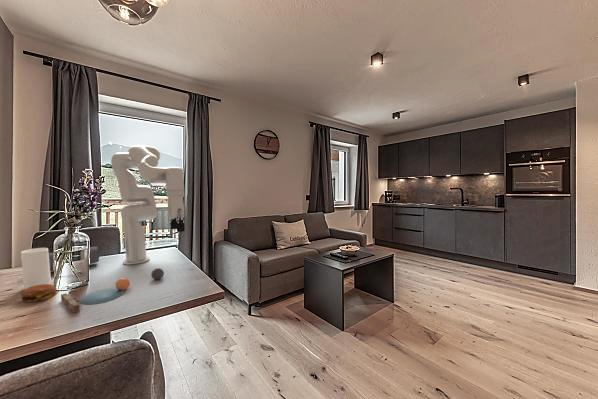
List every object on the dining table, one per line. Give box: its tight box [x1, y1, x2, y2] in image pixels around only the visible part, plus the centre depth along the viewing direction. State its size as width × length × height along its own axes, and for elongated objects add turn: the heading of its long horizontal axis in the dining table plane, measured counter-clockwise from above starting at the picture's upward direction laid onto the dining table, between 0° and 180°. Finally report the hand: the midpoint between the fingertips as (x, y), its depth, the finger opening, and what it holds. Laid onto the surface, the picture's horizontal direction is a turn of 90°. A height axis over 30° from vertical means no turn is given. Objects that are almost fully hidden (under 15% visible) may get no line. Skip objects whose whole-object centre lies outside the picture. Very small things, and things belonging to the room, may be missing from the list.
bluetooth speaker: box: [48, 246, 100, 272], centre depth 136 cm, size 23×9×10 cm, turn 134°
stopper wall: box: [60, 292, 81, 314], centre depth 96 cm, size 16×2×2 cm, turn 54°
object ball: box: [115, 277, 131, 291], centre depth 109 cm, size 5×5×5 cm
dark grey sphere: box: [150, 267, 165, 281], centre depth 120 cm, size 5×5×5 cm
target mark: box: [79, 287, 125, 305], centre depth 104 cm, size 14×14×1 cm
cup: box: [20, 247, 52, 291], centre depth 113 cm, size 8×8×16 cm
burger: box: [21, 283, 57, 303], centre depth 103 cm, size 10×9×5 cm
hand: (177, 230), depth 124 cm, fingers open, 9 cm apart
